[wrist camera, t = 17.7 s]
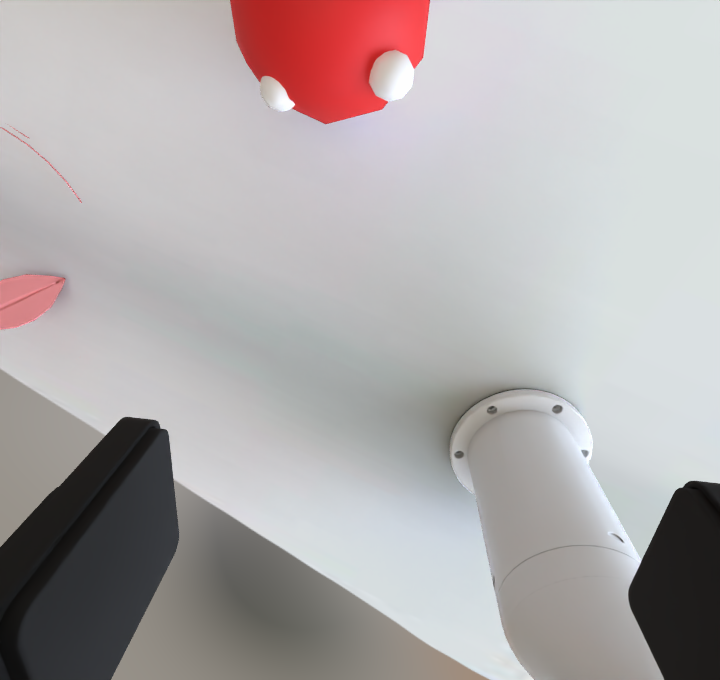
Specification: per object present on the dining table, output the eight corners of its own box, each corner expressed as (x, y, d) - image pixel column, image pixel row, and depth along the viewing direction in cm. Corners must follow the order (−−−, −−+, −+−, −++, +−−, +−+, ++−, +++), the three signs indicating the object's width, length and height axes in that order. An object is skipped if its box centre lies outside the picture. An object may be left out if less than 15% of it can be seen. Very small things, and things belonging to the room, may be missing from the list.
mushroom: (385, 149, 35) (380, 164, 24) (241, 83, 33) (167, 67, 23) (454, -19, 30) (487, -96, 19) (291, -102, 29) (229, -233, 18)
